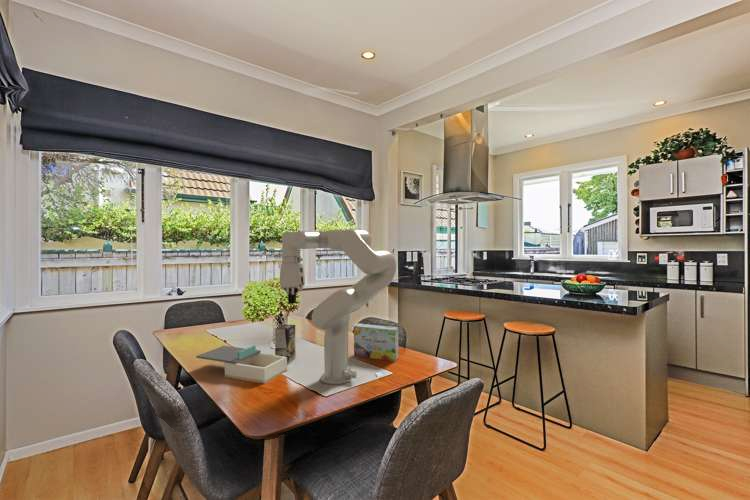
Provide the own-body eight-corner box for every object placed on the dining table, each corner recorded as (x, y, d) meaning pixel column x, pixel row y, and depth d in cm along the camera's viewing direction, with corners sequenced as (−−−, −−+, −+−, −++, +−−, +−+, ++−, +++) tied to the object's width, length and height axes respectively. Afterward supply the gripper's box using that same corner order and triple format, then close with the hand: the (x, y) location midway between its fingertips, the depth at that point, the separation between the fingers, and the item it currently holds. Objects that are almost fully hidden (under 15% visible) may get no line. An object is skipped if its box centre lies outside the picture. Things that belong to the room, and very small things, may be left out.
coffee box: (288, 364, 170) (287, 329, 169) (274, 363, 171) (274, 328, 170) (296, 358, 179) (295, 324, 178) (283, 357, 180) (283, 323, 179)
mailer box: (287, 370, 162) (286, 357, 162) (264, 383, 148) (264, 368, 148) (249, 365, 169) (249, 351, 169) (224, 376, 155) (224, 362, 155)
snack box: (353, 356, 181) (353, 325, 180) (358, 353, 186) (358, 322, 186) (395, 362, 173) (395, 329, 173) (399, 358, 178) (399, 326, 178)
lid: (260, 352, 167) (260, 343, 167) (235, 363, 153) (234, 354, 153) (223, 347, 175) (223, 339, 175) (196, 357, 160) (196, 348, 160)
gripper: (311, 260, 162) (311, 303, 162) (281, 259, 167) (282, 300, 168) (301, 261, 155) (302, 306, 155) (271, 260, 160) (272, 303, 161)
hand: (292, 303), depth 162 cm, fingers closed
